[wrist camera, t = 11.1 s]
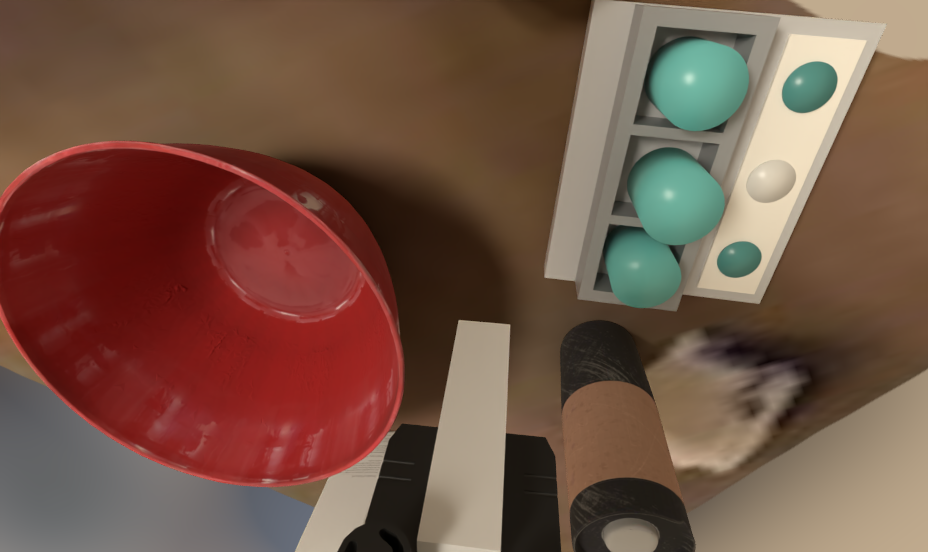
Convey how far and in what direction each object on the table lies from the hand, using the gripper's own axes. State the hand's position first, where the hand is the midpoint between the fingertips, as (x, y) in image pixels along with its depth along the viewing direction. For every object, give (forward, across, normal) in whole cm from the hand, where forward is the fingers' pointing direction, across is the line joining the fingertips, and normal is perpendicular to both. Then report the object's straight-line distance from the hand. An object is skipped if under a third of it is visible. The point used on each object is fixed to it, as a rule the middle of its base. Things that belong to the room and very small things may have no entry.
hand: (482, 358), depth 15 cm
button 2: (+22, +11, -2) cm, 25 cm away
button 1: (+25, +11, +4) cm, 28 cm away
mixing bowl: (+28, -19, -13) cm, 36 cm away
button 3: (+25, +11, -9) cm, 28 cm away
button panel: (+27, +14, -2) cm, 31 cm away
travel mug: (+27, +10, -21) cm, 36 cm away
